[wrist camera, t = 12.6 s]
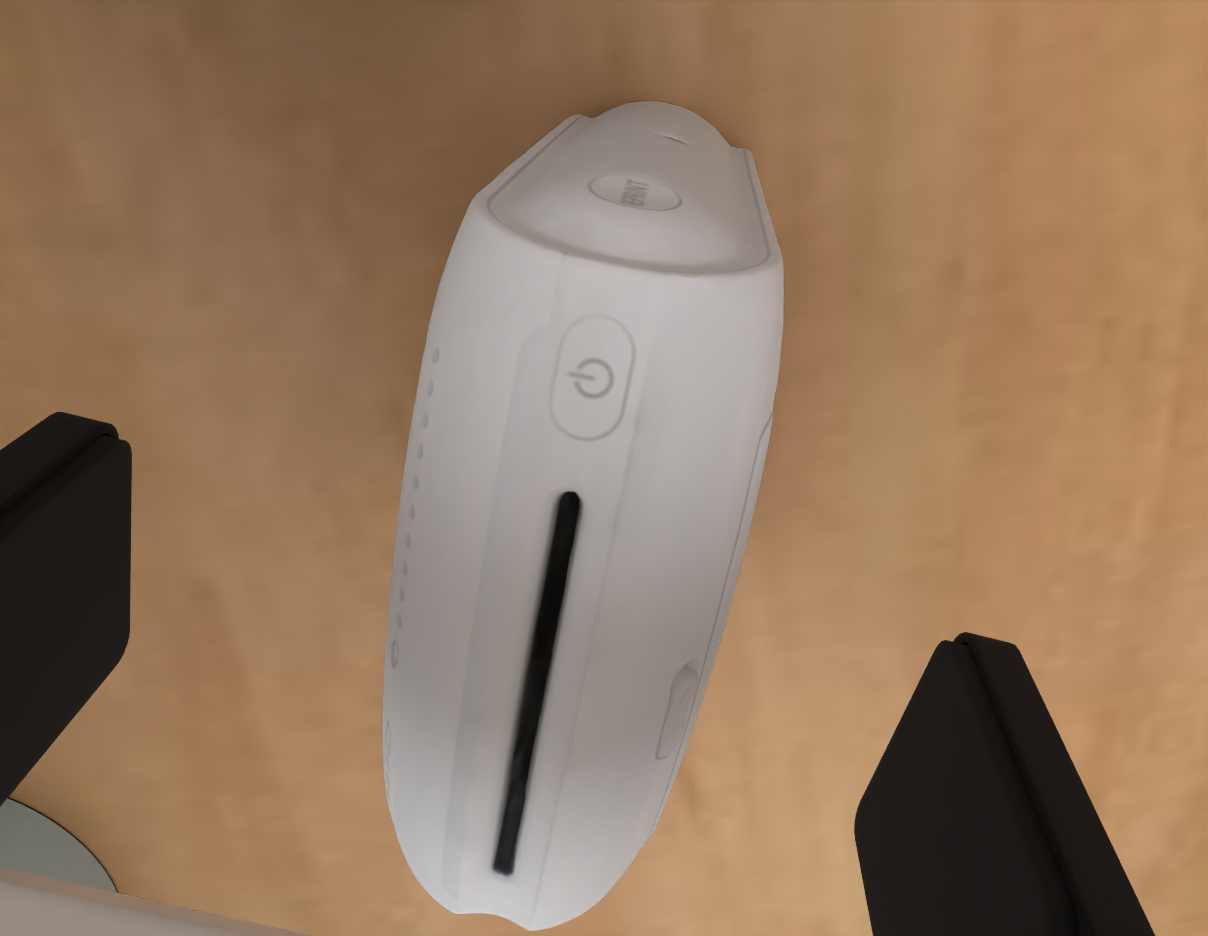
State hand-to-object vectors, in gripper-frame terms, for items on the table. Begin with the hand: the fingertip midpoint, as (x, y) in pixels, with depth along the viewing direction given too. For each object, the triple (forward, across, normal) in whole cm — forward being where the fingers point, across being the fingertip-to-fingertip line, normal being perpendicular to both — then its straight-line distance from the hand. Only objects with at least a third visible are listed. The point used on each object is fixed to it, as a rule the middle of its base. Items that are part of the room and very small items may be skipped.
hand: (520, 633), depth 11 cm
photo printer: (+12, 0, 0) cm, 12 cm away
